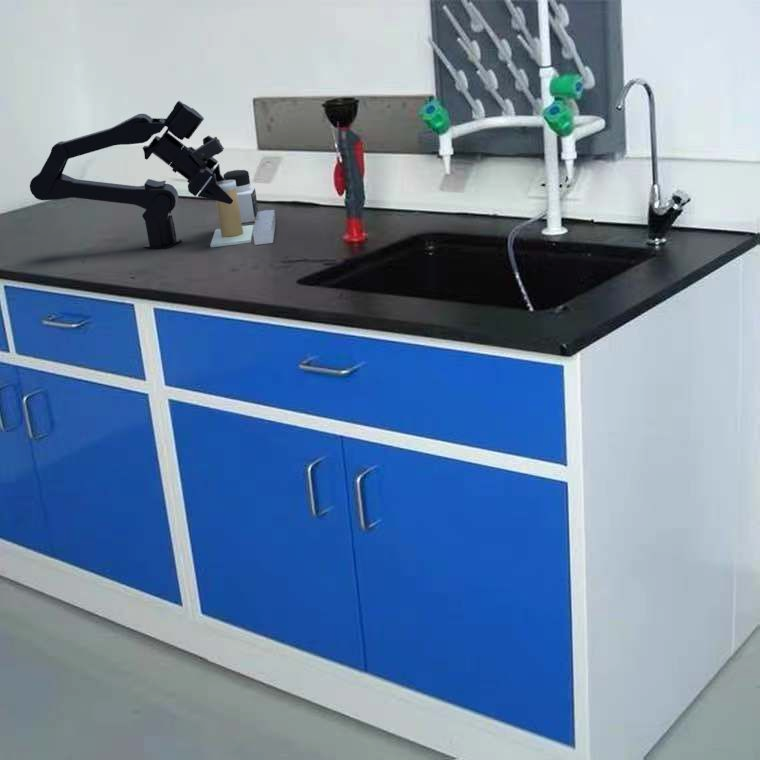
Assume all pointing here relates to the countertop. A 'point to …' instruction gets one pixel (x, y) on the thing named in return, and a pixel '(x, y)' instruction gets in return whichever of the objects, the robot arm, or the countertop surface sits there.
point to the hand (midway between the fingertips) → (233, 198)
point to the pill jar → (229, 211)
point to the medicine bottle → (244, 194)
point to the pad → (239, 239)
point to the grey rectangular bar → (264, 227)
